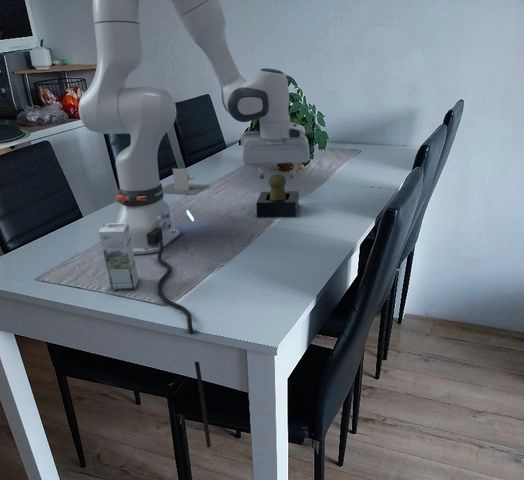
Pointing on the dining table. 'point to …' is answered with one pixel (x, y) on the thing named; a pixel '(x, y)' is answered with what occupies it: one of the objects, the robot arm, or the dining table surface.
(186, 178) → the architectural model
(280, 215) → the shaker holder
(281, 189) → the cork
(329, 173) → the dining table surface
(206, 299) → the dining table surface
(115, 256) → the syrup box
